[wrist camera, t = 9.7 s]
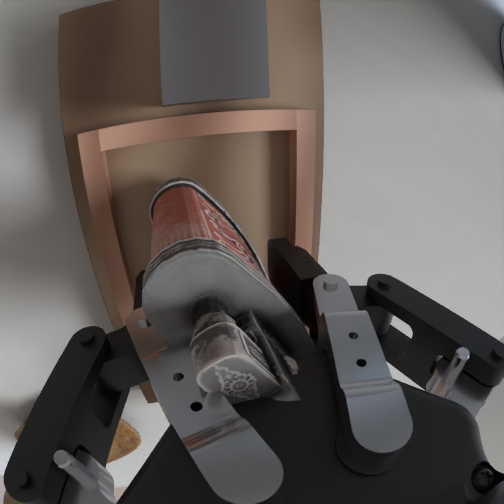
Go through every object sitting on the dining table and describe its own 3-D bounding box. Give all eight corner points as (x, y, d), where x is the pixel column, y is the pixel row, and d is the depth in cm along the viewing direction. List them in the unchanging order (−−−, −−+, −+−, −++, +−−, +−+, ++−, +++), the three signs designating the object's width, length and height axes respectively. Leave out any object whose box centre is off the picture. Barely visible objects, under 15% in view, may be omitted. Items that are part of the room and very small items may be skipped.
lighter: (132, 206, 13) (98, 388, 4) (192, 160, 13) (261, 282, 4) (229, 314, 17) (292, 475, 9) (278, 280, 17) (375, 428, 8)
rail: (307, 6, 13) (391, -34, 6) (298, 358, 25) (336, 427, 18) (68, 21, 10) (8, -25, 3) (147, 389, 22) (154, 469, 16)
